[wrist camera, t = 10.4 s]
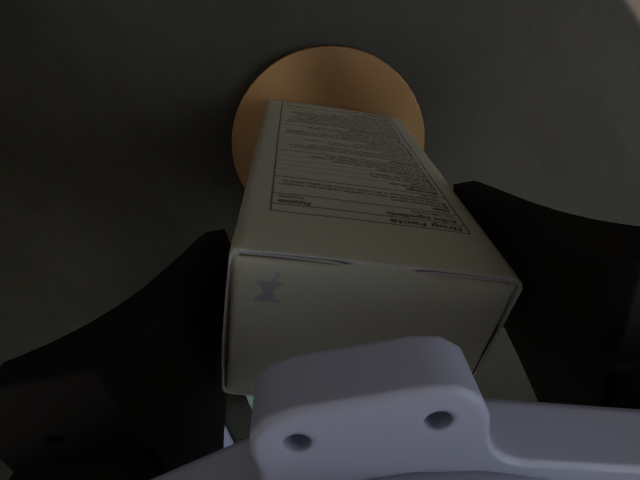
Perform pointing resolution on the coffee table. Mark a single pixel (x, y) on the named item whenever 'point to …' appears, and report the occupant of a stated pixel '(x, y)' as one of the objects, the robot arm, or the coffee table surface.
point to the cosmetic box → (353, 247)
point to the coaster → (324, 93)
